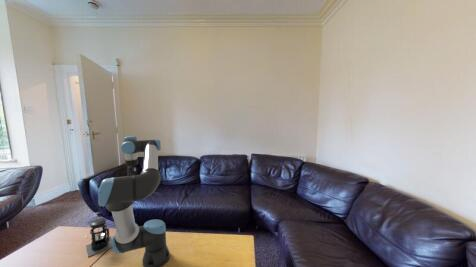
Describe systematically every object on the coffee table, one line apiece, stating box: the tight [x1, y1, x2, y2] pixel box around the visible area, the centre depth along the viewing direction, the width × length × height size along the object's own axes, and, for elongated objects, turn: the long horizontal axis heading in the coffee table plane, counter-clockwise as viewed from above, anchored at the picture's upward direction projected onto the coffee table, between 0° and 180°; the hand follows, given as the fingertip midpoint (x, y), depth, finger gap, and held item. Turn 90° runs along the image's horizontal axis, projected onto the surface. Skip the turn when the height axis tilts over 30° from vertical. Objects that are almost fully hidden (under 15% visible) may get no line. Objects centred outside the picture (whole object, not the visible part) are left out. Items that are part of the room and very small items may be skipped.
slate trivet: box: [85, 236, 113, 258], centre depth 126 cm, size 14×14×1 cm
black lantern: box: [89, 211, 111, 251], centre depth 125 cm, size 12×9×23 cm
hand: (133, 189), depth 129 cm, fingers open, 13 cm apart
